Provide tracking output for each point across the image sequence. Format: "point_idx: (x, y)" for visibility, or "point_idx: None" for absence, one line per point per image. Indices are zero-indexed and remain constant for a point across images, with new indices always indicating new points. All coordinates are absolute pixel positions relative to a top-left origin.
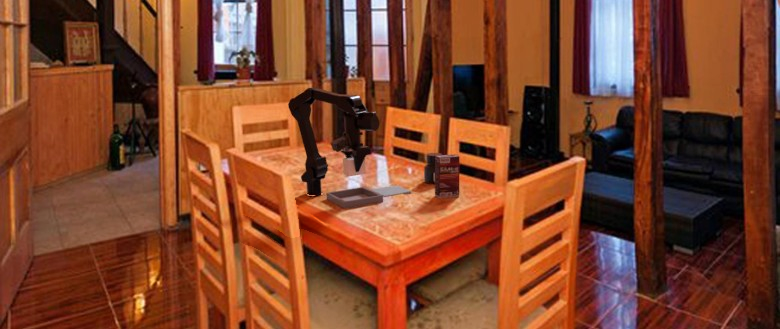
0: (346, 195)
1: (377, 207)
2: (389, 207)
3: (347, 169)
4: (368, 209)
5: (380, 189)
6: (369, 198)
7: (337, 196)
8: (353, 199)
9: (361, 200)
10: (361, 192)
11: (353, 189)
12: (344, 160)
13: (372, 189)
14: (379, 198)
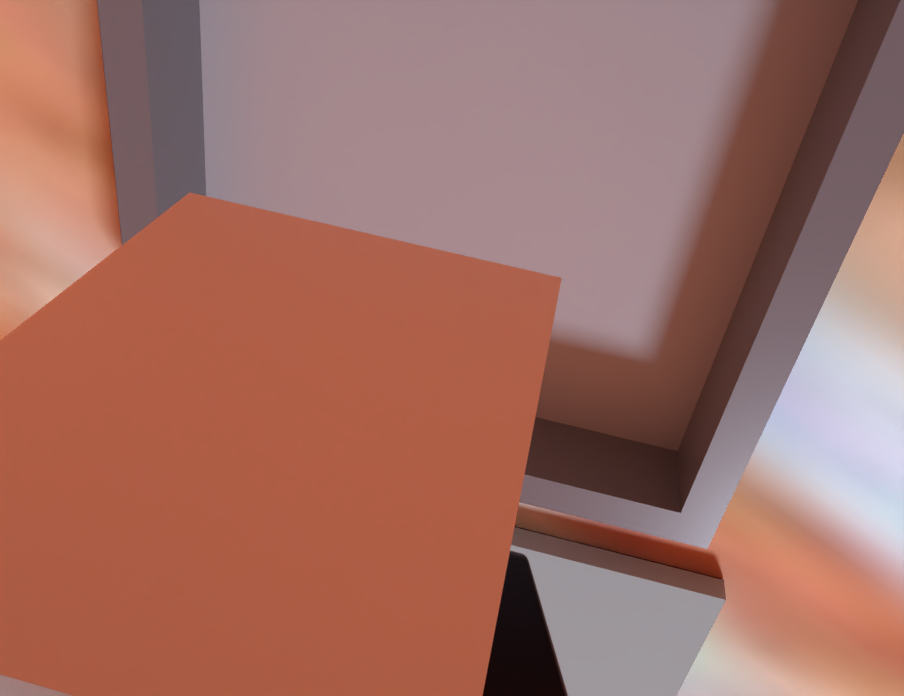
0: (769, 233)
1: (63, 194)
2: (3, 283)
3: (144, 310)
4: (31, 53)
5: (621, 645)
6: (127, 220)
7: (839, 65)
8: (535, 191)
9: (116, 81)
10: (683, 451)
11: (731, 389)
12: (255, 659)
13: (703, 611)
14: None
